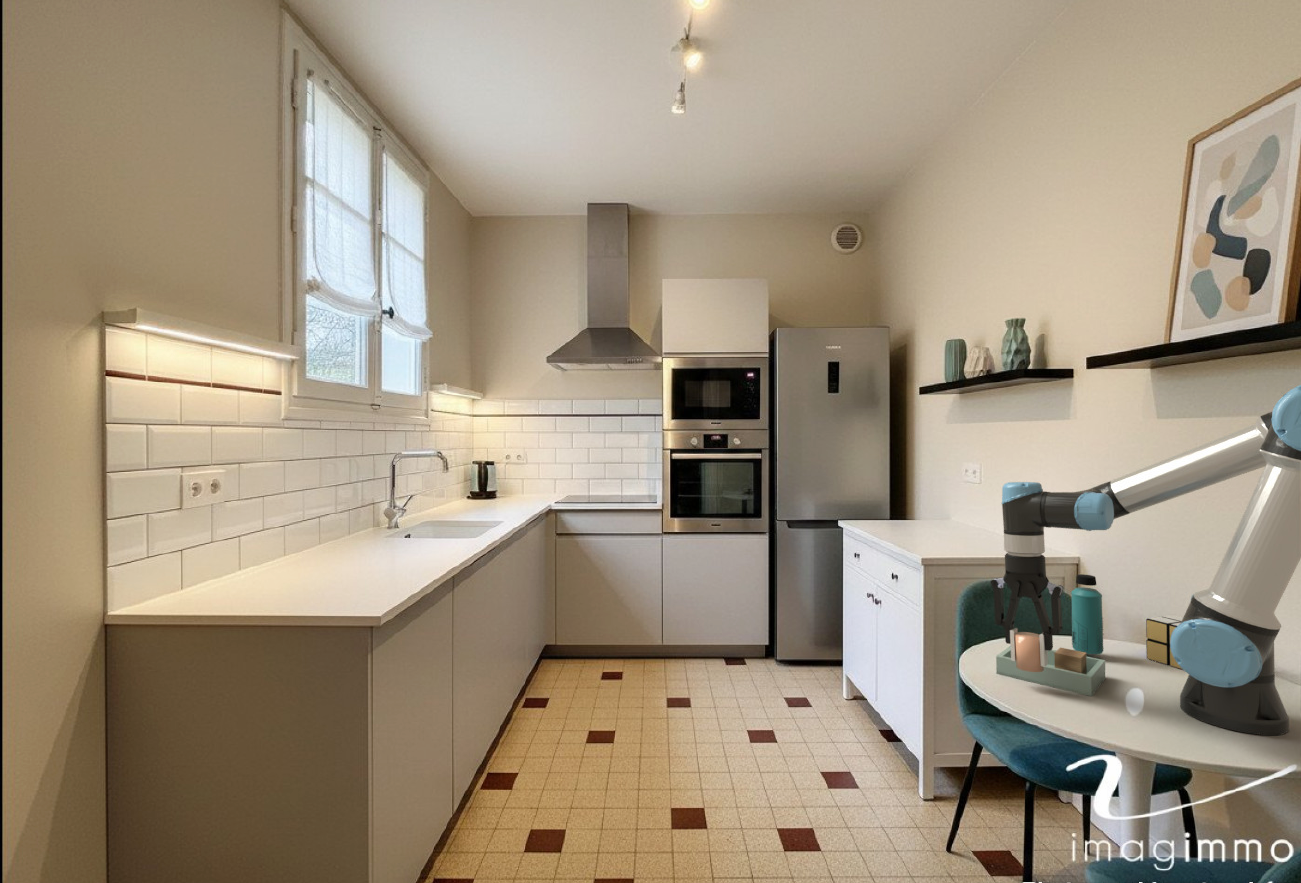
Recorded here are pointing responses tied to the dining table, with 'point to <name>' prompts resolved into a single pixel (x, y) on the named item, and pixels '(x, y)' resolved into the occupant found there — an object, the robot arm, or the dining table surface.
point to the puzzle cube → (1161, 639)
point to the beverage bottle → (1087, 617)
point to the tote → (1055, 673)
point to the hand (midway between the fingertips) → (1029, 661)
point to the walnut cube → (1071, 660)
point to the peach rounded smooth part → (1028, 652)
